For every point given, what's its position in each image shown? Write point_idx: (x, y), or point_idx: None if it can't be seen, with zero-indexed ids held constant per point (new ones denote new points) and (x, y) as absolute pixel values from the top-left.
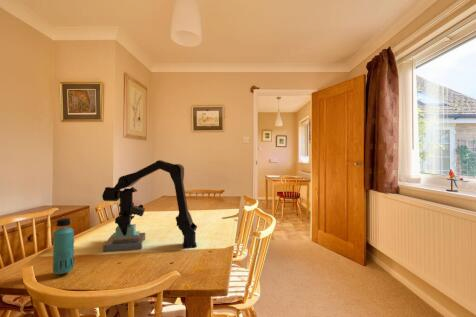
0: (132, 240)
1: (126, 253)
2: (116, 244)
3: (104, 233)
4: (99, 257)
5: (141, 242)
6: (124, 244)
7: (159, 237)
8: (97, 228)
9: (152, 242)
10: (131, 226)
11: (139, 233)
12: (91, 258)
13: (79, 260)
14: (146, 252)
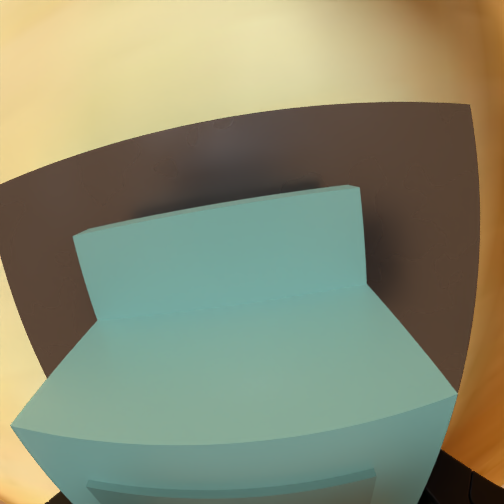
0: (368, 263)
1: (500, 239)
2: (458, 388)
3: (38, 488)
4: (497, 393)
5: (445, 104)
6: (469, 314)
7: (26, 36)
8: (4, 498)
9: (185, 31)
10: (357, 489)
11: (145, 217)
12: (490, 422)
13: (486, 450)
14: (491, 60)
